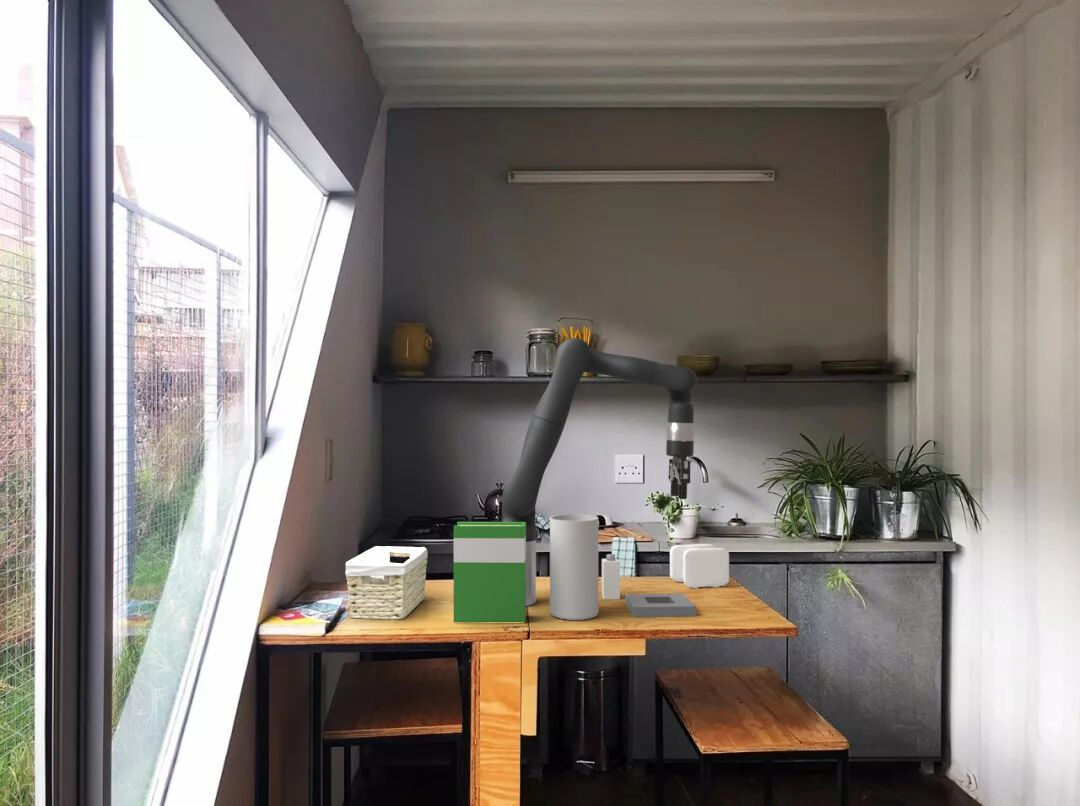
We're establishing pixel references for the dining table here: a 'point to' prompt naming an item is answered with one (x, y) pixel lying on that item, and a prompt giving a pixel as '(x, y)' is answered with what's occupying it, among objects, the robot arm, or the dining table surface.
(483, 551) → the green cereal box
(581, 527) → the cylinder vase
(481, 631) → the dining table surface
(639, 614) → the socket plate
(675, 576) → the white napkin holder
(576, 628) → the dining table surface
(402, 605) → the storage basket
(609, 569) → the white block with knob
